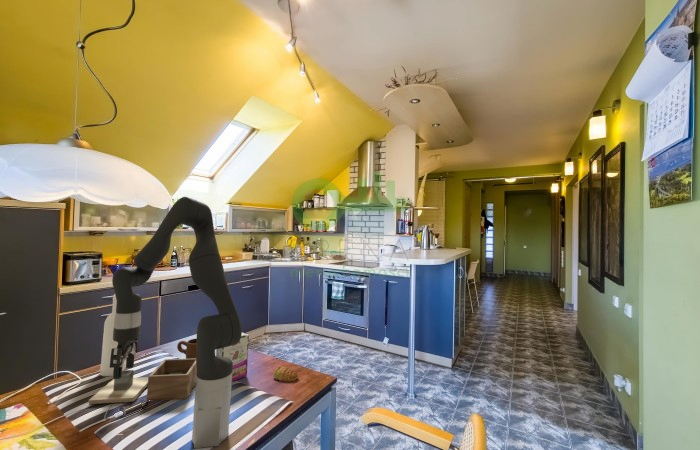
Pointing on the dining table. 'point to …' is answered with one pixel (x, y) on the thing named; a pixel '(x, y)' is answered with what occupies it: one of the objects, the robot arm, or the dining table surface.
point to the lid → (121, 389)
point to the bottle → (109, 343)
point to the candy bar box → (237, 356)
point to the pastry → (285, 374)
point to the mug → (188, 348)
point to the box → (172, 380)
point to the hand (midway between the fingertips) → (123, 372)
